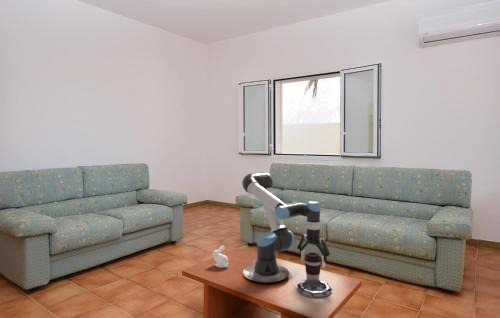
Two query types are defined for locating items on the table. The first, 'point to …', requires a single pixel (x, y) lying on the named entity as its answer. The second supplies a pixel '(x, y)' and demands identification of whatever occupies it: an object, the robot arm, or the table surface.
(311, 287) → the grey flat octagonal tray
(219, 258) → the rabbit
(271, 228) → the robot arm
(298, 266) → the table surface
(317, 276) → the coffee cup
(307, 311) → the table surface
